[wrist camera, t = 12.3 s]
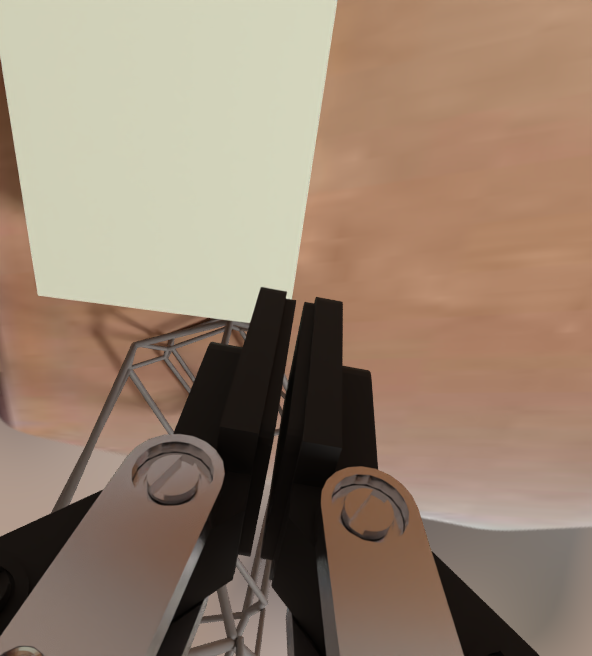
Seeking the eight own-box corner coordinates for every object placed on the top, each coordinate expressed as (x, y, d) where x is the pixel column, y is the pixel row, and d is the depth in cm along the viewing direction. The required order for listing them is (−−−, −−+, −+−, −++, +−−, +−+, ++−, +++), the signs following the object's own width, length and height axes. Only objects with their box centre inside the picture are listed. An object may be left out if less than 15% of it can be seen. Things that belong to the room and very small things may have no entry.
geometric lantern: (326, 397, 50) (312, 961, 21) (187, 430, 54) (9, 944, 24) (266, 261, 42) (104, 856, 13) (109, 312, 46) (-290, 856, 17)
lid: (-24, -174, 21) (-38, -182, 20) (352, -107, 22) (354, -112, 21) (45, 288, 33) (37, 295, 32) (287, 319, 33) (287, 327, 33)
